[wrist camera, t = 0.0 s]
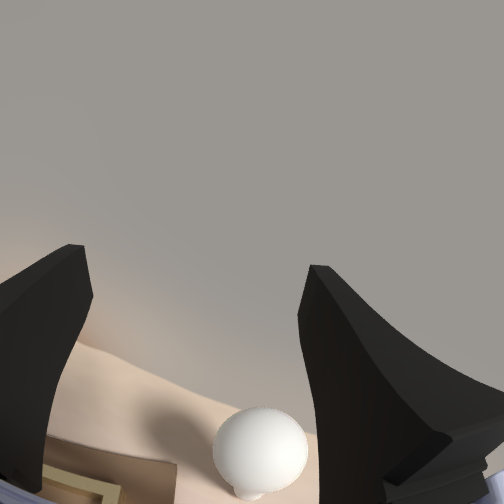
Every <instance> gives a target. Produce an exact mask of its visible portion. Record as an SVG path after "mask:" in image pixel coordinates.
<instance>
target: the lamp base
mask: <svg viewBox="0 0 504 504" xmlns="http://www.w3.org/2000/svg"><path fill="white" fill-rule="evenodd" d="M43 464H45V465H48V466H51V467H54V468H57V469H60V470H63V471H66V472H69V473H73V474H76V475H79V476H83V477H87V478H90V479H94V480H98V481H102V482H106V483H111V484H115V485H120V486H121V487H122V488H123V490H124V492H125V493H126V498H125V504H174V496H175V486H176V476H177V464H171V463H163V462H156V461H149V460H143V459H137V458H132V457H127V456H121V455H116V454H112V453H107V452H103V451H98V450H94V449H90V448H86V447H82V446H79V445H75V444H71V443H68V442H64V441H61V440H58V439H55V438H51V437H48V436H46V439H45V447H44V455H43ZM22 490H23V489H22ZM24 491H25V490H24ZM26 492H27V491H26ZM29 493H30V492H29ZM31 494H32V493H31ZM33 495H36V496H38V497H41V498H43V499H46V500H49V501H51V502H54V503H57V504H102V501H99V500H95V499H92V498H88V497H84V496H81V495H78V494H74V493H71V492H68V491H65V490H62V489H59V488H56V487H53V486H50V485H48V484H45V483H42V490H41V491H40V492H38V493H36V494H33Z"/></svg>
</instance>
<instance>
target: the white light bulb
mask: <svg viewBox="0 0 504 504" xmlns="http://www.w3.org/2000/svg"><path fill="white" fill-rule="evenodd" d="M307 457H308V444H307V440H306V436H305V434H304V432H303V430H302V428H301V427H300V426H299V424H298V423H296V421H295V420H294V419H293V418H291V417H290V416H289V415H287V414H285V413H283V412H281V411H279V410H276V409H272V408H266V407H255V408H249V409H246V410H243V411H240V412H238V413H236V414H234V415H232V416H231V417H230V418H228V419H227V420H226V421H225V422H224V423H223V424H222V426H221V427H220V428H219V430H218V432H217V434H216V436H215V438H214V442H213V460H214V464H215V466H216V468H217V469H218V471H219V473H220V475H221V476H222V477H223V478H224V480H225V481H227V482H228V483H229V484H230V485H232V486H233V489H234V493H235V494H236V496H237V497H239V498H240V499H242V500H245V501H254V500H257V499H259V498H260V497H261V496H262V495H263V494H267V493H272V492H276V491H278V490H281V489H283V488H285V487H286V486H288V485H289V484H291V483H292V482H294V481H295V480H296V479H297V477H298V476H299V475H300V474H301V472H302V470H303V468H304V467H305V465H306V461H307Z"/></svg>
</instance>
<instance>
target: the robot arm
mask: <svg viewBox="0 0 504 504" xmlns="http://www.w3.org/2000/svg"><path fill="white" fill-rule="evenodd" d="M92 299H93V292H92V287H91V282H90V277H89V271H88V266H87V261H86V255H85V248H84V246H83V245H72V244H68V245H65V246H63V247H61V248H59V249H57V250H55V251H54V252H52V253H50V254H49V255H47V256H45V257H44V258H42V259H40V260H39V261H37V262H36V263H34V264H32V265H31V266H29V267H28V268H26V269H24V270H23V271H21V272H20V273H18V274H16V275H15V276H13V277H11V278H9V279H8V280H6V281H5V282H3V283H1V284H0V479H1V480H0V504H57V503H54V502H51V501H49V500H46V499H43V498H41V497H38V496H36V495H33V494H36V493H38V492H40V491H41V490H42V471H43V455H44V447H45V439H46V432H47V426H48V421H49V416H50V412H51V407H52V403H53V399H54V395H55V392H56V388H57V385H58V382H59V379H60V376H61V374H62V371H63V369H64V367H65V364H66V362H67V360H68V358H69V355H70V353H71V351H72V349H73V347H74V344H75V342H76V340H77V338H78V336H79V333H80V331H81V329H82V327H83V325H84V323H85V320H86V317H87V314H88V311H89V309H90V305H91V301H92ZM297 315H298V326H299V337H300V344H301V349H302V353H303V357H304V362H305V366H306V371H307V375H308V379H309V384H310V388H311V393H312V397H313V402H314V408H315V417H316V426H317V439H318V455H319V504H504V469H503V470H501V471H499V472H497V473H495V474H493V475H491V476H490V477H488V478H486V479H484V476H483V473H482V471H484V470H486V469H487V466H488V465H487V463H486V460H485V457H486V456H487V455H488V454H490V453H491V452H492V451H493V450H494V449H495V448H497V447H498V446H499V445H500V444H501V443H502V442H504V392H502V391H500V390H497V389H495V388H492V387H490V386H488V385H485V384H483V383H480V382H478V381H476V380H474V379H472V378H470V377H468V376H466V375H464V374H462V373H460V372H458V371H456V370H455V369H453V368H451V367H449V366H448V365H446V364H444V363H443V362H441V361H439V360H438V359H436V358H435V357H433V356H432V355H430V354H428V353H427V352H425V351H424V350H423V349H421V348H420V347H418V346H417V345H415V344H414V343H413V342H411V341H410V340H409V339H408V338H406V337H405V336H404V335H402V334H401V333H400V332H399V331H397V330H396V329H395V328H394V327H392V326H391V325H390V324H389V323H388V322H387V321H386V320H385V319H383V318H382V317H381V316H380V315H379V314H378V313H377V312H376V311H374V310H373V309H372V308H371V307H370V306H369V305H368V304H367V303H366V302H365V301H364V300H363V299H362V298H361V297H360V296H359V295H358V294H357V293H356V292H355V291H354V290H353V289H352V288H351V287H350V286H349V285H348V284H347V283H346V282H345V281H344V280H343V279H342V278H341V277H340V276H339V275H338V274H337V273H336V272H335V271H334V270H333V269H332V268H330V267H329V266H321V265H310V267H309V271H308V276H307V279H306V283H305V287H304V291H303V295H302V299H301V303H300V307H299V310H298V314H297ZM2 480H3V481H2ZM4 481H5V482H4ZM6 482H7V483H6ZM8 483H9V484H8ZM10 484H12V485H10ZM13 485H14V486H13ZM15 486H16V487H15ZM17 487H18V488H17ZM19 488H20V489H19ZM22 489H23V490H22ZM24 490H25V491H24ZM26 491H27V492H26ZM29 492H30V493H29ZM31 493H32V494H31Z"/></svg>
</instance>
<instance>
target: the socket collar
mask: <svg viewBox="0 0 504 504" xmlns="http://www.w3.org/2000/svg"><path fill="white" fill-rule="evenodd" d="M0 480H1V479H0ZM2 481H3V480H2ZM4 482H5V481H4ZM6 483H7V482H6ZM42 483H45V484H48V485H50V486H53V487H56V488H59V489H62V490H65V491H68V492H71V493H74V494H78V495H81V496H84V497H88V498H92V499H95V500H99V501H102V504H125V498H126V493H125V492H124V490H123V488H122V487H121V486H120V485H115V484H111V483H106V482H102V481H98V480H94V479H90V478H87V477H83V476H79V475H76V474H73V473H69V472H66V471H63V470H60V469H57V468H54V467H51V466H48V465H45V464H43V471H42ZM8 484H9V483H8ZM10 485H12V484H10ZM13 486H14V485H13ZM15 487H16V486H15ZM17 488H18V487H17ZM19 489H20V488H19Z"/></svg>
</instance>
